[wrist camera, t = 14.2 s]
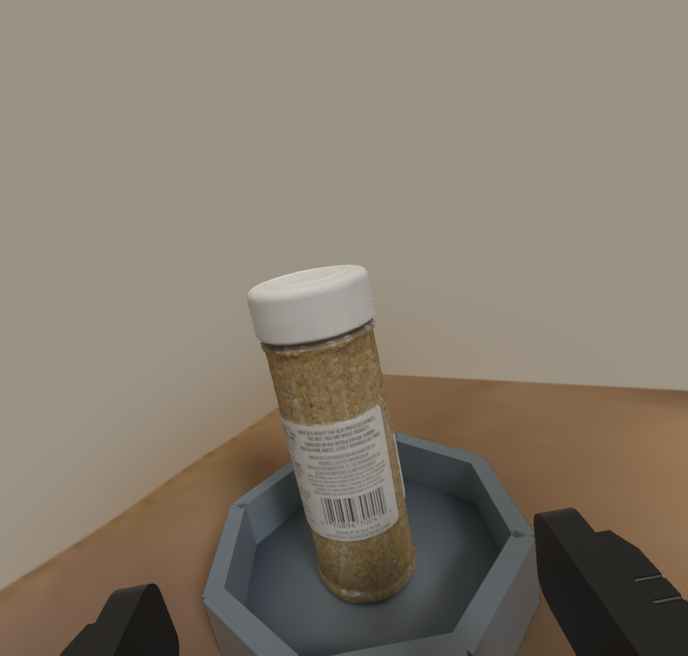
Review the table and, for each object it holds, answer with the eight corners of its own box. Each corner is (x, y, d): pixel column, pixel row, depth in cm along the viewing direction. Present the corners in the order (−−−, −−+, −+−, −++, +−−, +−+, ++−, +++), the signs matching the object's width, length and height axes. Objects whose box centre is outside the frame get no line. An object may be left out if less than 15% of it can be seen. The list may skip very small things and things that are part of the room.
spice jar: (420, 527, 21) (376, 255, 17) (414, 614, 17) (353, 279, 13) (332, 525, 22) (272, 272, 18) (305, 606, 18) (220, 298, 14)
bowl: (466, 466, 26) (460, 419, 25) (600, 708, 13) (598, 633, 12) (257, 505, 26) (244, 460, 25) (196, 783, 13) (165, 714, 13)
